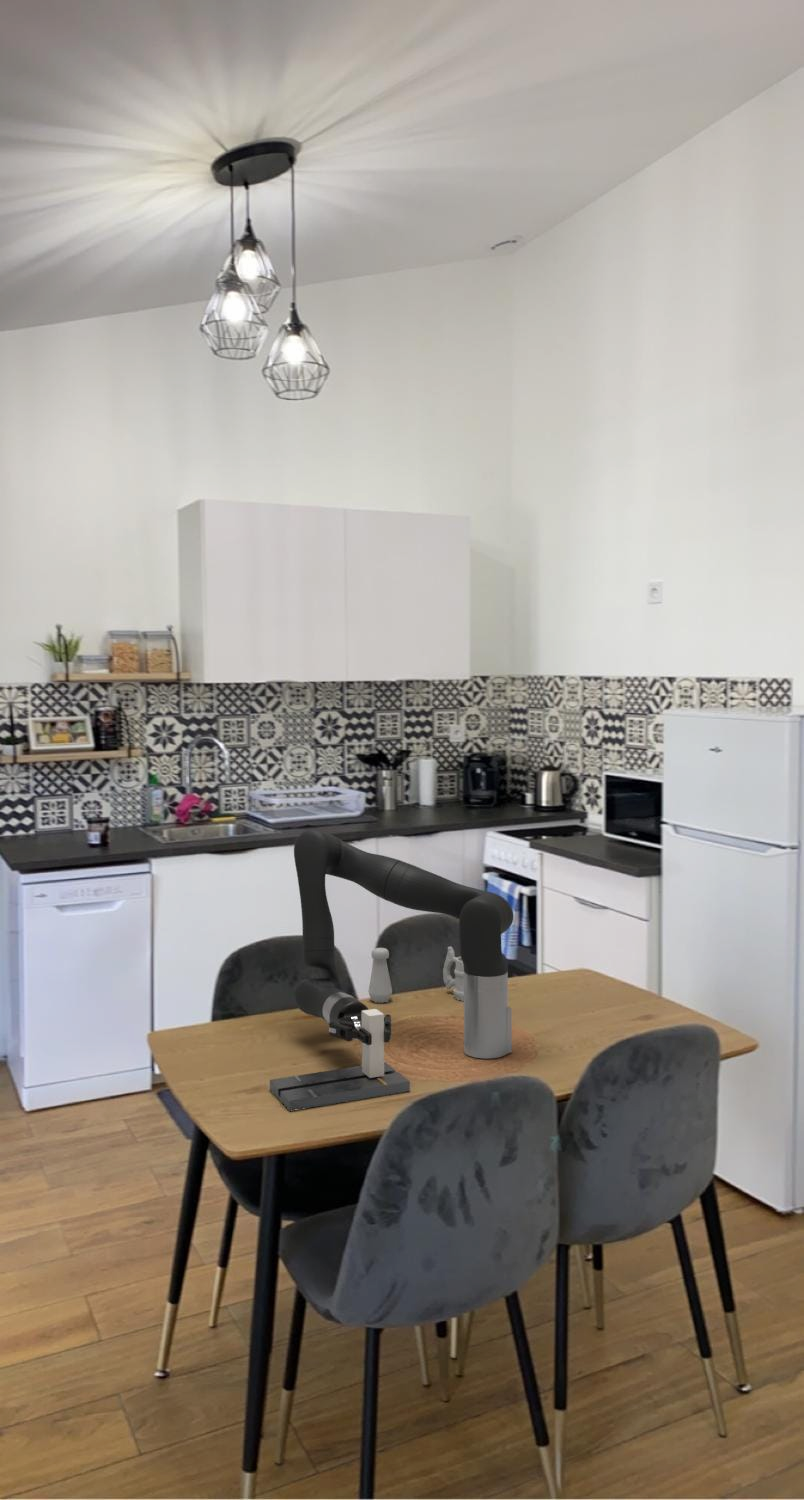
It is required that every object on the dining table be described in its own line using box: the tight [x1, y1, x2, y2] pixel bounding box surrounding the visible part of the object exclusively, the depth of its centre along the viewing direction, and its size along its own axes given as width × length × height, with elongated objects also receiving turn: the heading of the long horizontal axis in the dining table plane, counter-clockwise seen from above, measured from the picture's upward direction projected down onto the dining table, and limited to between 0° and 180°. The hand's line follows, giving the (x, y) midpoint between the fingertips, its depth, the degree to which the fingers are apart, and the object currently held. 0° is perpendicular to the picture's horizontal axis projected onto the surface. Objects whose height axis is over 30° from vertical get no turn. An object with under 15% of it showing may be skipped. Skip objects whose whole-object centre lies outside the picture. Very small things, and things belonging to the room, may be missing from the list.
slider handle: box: [361, 1008, 385, 1078], centre depth 215 cm, size 3×4×13 cm
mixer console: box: [269, 1061, 411, 1112], centre depth 212 cm, size 24×12×2 cm, turn 114°
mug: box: [442, 946, 464, 1002], centre depth 276 cm, size 8×12×12 cm, turn 49°
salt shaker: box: [368, 947, 393, 1004], centre depth 273 cm, size 6×6×13 cm
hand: (378, 1038), depth 212 cm, fingers closed on slider handle, 3 cm apart
